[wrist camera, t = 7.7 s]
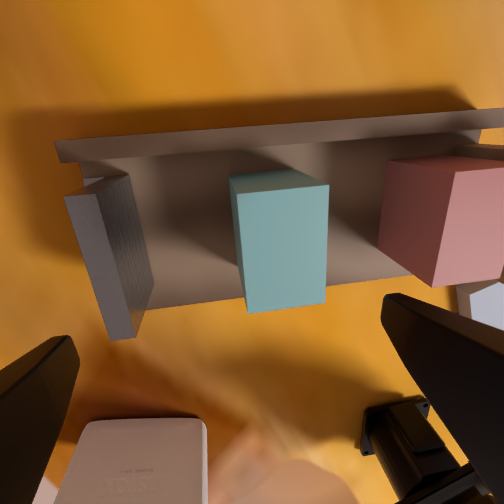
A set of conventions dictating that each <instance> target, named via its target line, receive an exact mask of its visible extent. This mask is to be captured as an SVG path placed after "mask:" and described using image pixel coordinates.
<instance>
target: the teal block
mask: <svg viewBox="0 0 504 504" xmlns="http://www.w3.org/2000/svg"><path fill="white" fill-rule="evenodd" d="M228 178H229V188H230V197H231V207H232V217H233V227H234V236H235V246H236V256H237V266H238V271H239V275H240V280H241V284H242V289H243V294H244V298H245V303H246V307H247V312H248V314H251V313H258V312H265V311H272V310H279V309H286V308H293V307H300V306H307V305H314V304H321V303H325V295H326V265H327V235H328V205H329V185H328V184H326V183H324V182H322V181H320V180H318V179H315V178H313V177H311V176H309V175H307V174H305V173H303V172H300V171H298V170H296V169H286V170H276V171H265V172H255V173H244V174H234V175H228Z"/></svg>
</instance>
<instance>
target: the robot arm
mask: <svg viewBox="0 0 504 504" xmlns="http://www.w3.org/2000/svg"><path fill="white" fill-rule="evenodd" d="M381 323H382V326H383V327H384V329H385V331H386V333H387V335H388V337H389V338H390V340H391V342H392V344H393V346H394V347H395V349H396V351H397V353H398V355H399V357H400V358H401V360H402V362H403V364H404V365H405V367H406V369H407V370H408V372H409V373H410V375H411V376H412V378H413V379H414V381H415V382H416V384H417V385H418V387H419V388H420V390H421V391H422V393H423V394H424V395H425V397H426V398H427V399H426V398H422V399H416V400H411V401H405V402H400V403H394V404H389V405H383V406H377V407H372V408H368V409H366V410H365V412H364V420H363V428H362V436H361V444H360V452H361V454H362V455H363V456H368V455H373V454H376V456H377V458H378V460H379V462H380V464H381V466H382V468H383V470H384V472H385V474H386V476H387V478H388V480H389V482H390V484H391V486H392V487H393V489H394V491H395V493H396V495H397V497H398V499H399V502H397V503H395V504H504V330H501V329H498V328H495V327H493V326H490V325H487V324H484V323H481V322H479V321H476V320H473V319H470V318H468V317H465V316H462V315H459V314H457V313H454V312H451V311H448V310H445V309H443V308H440V307H437V306H434V305H432V304H429V303H426V302H423V301H420V300H418V299H415V298H412V297H409V296H407V295H404V294H401V293H392V294H386V295H385V296H384V298H383V304H382V310H381ZM79 367H80V358H79V355H78V353H77V350H76V347H75V345H74V342H73V340H72V338H71V337H70V336H68V335H63V336H55V337H51V338H50V339H48V340H47V341H45V342H43V343H42V344H40V345H39V346H37V347H36V348H34V349H33V350H31V351H29V352H28V353H26V354H25V355H23V356H22V357H20V358H19V359H17V360H16V361H14V362H12V363H11V364H9V365H8V366H6V367H5V368H3V369H2V370H0V504H32V502H33V500H34V497H35V494H36V492H37V490H38V487H39V484H40V482H41V479H42V477H43V474H44V472H45V469H46V467H47V464H48V462H49V459H50V457H51V454H52V452H53V449H54V447H55V444H56V442H57V439H58V437H59V434H60V431H61V429H62V426H63V423H64V420H65V417H66V414H67V410H68V407H69V403H70V399H71V396H72V392H73V389H74V385H75V382H76V378H77V374H78V371H79ZM430 404H431V406H432V407H433V409H434V410H435V411H436V413H437V414H438V416H439V417H440V419H441V420H442V422H443V423H444V425H445V426H446V428H447V429H448V430H449V432H450V433H451V435H452V436H453V438H454V439H455V441H456V442H457V444H458V445H459V447H460V448H461V449H462V451H463V452H464V454H465V455H466V457H467V458H468V460H469V461H468V462H469V463H467V464H465V465H463V466H462V467H461V466H460V464H459V463H458V462H457V460H456V459H455V458H454V456H453V455H452V454H451V452H450V451H449V450H448V448H447V447H446V446H445V443H444V441H443V440H442V439H441V437H440V436H439V435H438V434H437V432H436V431H435V430H434V428H433V427H432V426H431V424H430V423H429V422H428V420H427V416H428V412H429V408H430ZM490 493H491V495H492V496H491V495H489V494H490Z"/></svg>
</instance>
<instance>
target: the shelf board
mask: <svg viewBox="0 0 504 504" xmlns="http://www.w3.org/2000/svg"><path fill="white" fill-rule="evenodd" d="M501 127H504V108H492V109H478V110H464V111H451V112H437V113H423V114H410V115H396V116H382V117H369V118H355V119H341V120H328V121H314V122H300V123H287V124H273V125H259V126H246V127H232V128H219V129H205V130H191V131H178V132H164V133H150V134H137V135H123V136H109V137H96V138H82V139H69V140H57V141H54V143H55V146H56V150H57V153H58V156H59V159H60V162H61V163H68V162H79V165H80V168H81V172H82V175H83V178H91V177H102V176H114V175H126V174H130V179H131V183H132V187H133V192H134V196H135V201H136V205H137V209H138V214H139V218H140V222H141V227H142V231H143V235H144V240H145V244H146V249H147V253H148V257H149V262H150V266H151V270H152V275H153V279H154V286H153V289H152V292H151V295H150V298H149V301H148V304H147V307H146V310H151V309H159V308H166V307H174V306H181V305H189V304H196V303H204V302H212V301H219V300H227V299H234V298H242V297H244V294H243V289H242V284H241V280H240V275H239V271H238V266H237V256H236V246H235V236H234V227H233V217H232V207H231V197H230V188H229V178H228V175H234V174H244V173H255V172H265V171H276V170H286V169H296V170H298V171H300V172H303V173H305V174H307V175H309V176H311V177H313V178H315V179H318V180H320V181H322V182H324V183H326V184H328V185H329V205H328V235H327V265H326V286H332V285H339V284H347V283H354V282H362V281H370V280H377V279H385V278H392V277H400V276H407V275H413V274H412V273H410V272H409V271H408V270H406V269H405V268H403V267H402V266H400V265H399V264H398V263H396V262H395V261H393V260H392V259H391V258H389V257H388V256H386V255H385V254H384V253H382V252H381V251H379V250H378V249H377V244H378V236H379V227H380V218H381V209H382V200H383V191H384V182H385V173H386V165H387V160H394V159H405V158H416V157H427V156H438V155H453V156H462V157H471V158H480V159H489V160H498V161H504V145H490V144H478V143H479V138H480V134H481V129H489V128H501ZM495 280H497V281H498V282H500V283H502V284H504V266H503V269H502V272H501V276H500V278H498V279H495Z"/></svg>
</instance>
